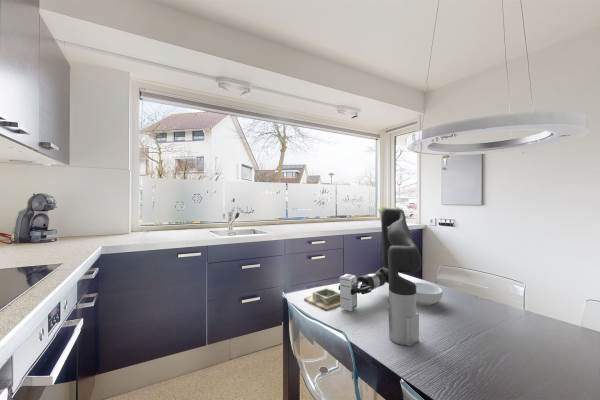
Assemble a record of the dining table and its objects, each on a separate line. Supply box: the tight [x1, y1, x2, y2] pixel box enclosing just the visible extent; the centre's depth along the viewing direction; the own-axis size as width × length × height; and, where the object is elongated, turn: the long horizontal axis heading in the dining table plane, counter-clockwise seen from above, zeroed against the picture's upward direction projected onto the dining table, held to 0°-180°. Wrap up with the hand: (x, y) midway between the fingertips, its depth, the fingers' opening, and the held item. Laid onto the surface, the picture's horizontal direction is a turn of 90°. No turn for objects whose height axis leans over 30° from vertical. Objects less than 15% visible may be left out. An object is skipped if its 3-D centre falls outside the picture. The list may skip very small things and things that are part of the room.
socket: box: [303, 287, 341, 311], centre depth 130 cm, size 16×16×4 cm
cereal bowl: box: [413, 282, 443, 306], centre depth 128 cm, size 17×17×7 cm
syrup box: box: [339, 273, 358, 312], centre depth 120 cm, size 6×6×14 cm
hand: (345, 290), depth 119 cm, fingers closed on syrup box, 6 cm apart
